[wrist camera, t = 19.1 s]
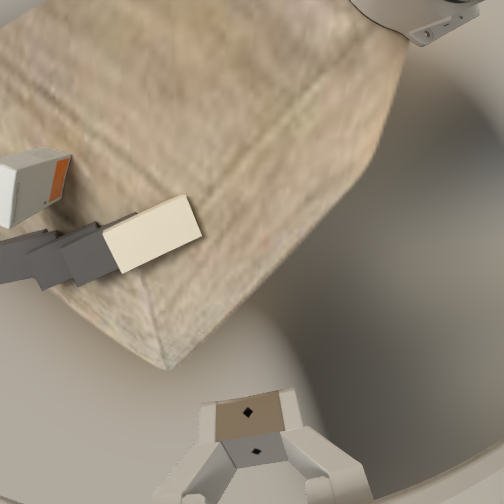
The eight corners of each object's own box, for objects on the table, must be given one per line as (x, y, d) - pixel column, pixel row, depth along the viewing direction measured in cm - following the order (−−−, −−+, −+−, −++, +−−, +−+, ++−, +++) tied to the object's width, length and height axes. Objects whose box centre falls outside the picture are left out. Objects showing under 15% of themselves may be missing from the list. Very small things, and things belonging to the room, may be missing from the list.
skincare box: (62, 199, 35) (9, 232, 24) (37, 189, 34) (-20, 218, 23) (73, 152, 33) (17, 170, 22) (46, 144, 32) (-14, 159, 21)
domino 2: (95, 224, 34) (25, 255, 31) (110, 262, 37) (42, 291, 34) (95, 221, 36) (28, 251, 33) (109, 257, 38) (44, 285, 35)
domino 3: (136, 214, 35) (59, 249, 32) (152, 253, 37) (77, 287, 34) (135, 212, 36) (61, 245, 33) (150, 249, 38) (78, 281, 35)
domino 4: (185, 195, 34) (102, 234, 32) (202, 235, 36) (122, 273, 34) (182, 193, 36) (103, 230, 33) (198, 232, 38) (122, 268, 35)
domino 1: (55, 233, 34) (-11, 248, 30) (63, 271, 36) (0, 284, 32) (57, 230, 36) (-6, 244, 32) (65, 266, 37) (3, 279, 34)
